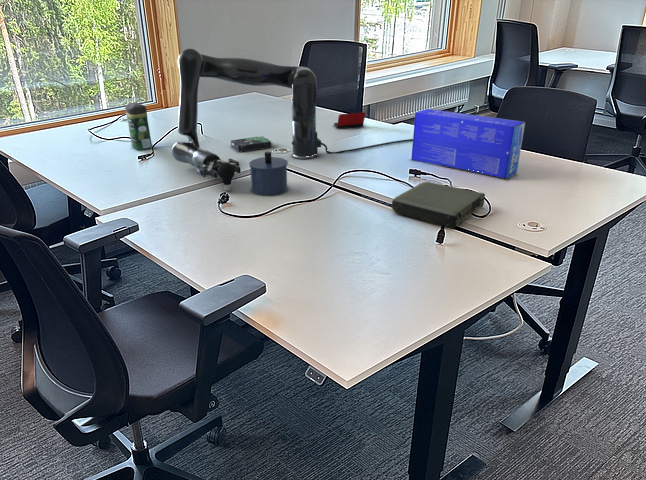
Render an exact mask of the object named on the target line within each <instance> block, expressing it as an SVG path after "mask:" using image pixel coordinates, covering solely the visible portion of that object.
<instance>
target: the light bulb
mask: <svg viewBox="0 0 646 480" xmlns="http://www.w3.org/2000/svg"><path fill="white" fill-rule="evenodd" d="M235 175H236V172H235V169H234V167H233V165H232V164H230V163H227V162H225V163H222V164H220V166H219V167H218V178H220V179H221V181H222V184H223V189H224V190H225V191H226V192H230V191H231V189H232V183H233V182H232V180H233V177H235Z"/></svg>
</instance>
